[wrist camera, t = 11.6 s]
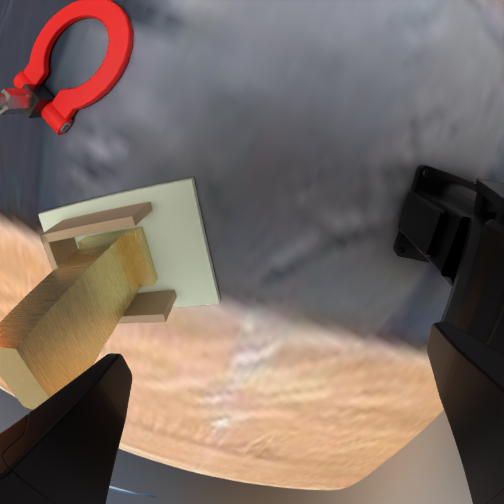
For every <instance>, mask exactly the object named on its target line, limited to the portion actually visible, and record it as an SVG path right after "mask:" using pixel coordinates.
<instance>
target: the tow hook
mask: <svg viewBox="0 0 504 504" xmlns="http://www.w3.org/2000/svg"><path fill="white" fill-rule="evenodd" d="M84 18H95V19H99V20H100V21H102V22H103V24H104V25H105V27H106V28H107V31H108V36H109V46H108V50H107V54H106V57H105V59H104V61H103V63H102V65H101V67H100V68H99V69H98V71H97V72H96V73H95V75H94V76H93V77H92V78H90V79H89V80H88V81H87V82H86V83H84V84H82V85H80V86H79V87H76V88H72V89H62V90H60V91H59V93H58V94H57V95H56V97H55V98H54V97H53V96H52V95H51V94H50V93H49V92H48V91H47V90H46V89H45V88H44V87H43V86H42V85H41V84H42V83H43V81H44V80H45V78H46V77H47V75H48V73H49V68H48V63H49V55H50V52H51V48H52V46H53V44H54V42H55V40H56V39H57V38H58V36H59V35H60V34H61V32H62V31H63V30H65V29H66V28H67V27H68V26H69V25H71V24H72V23H74V22H76V21H78V20H81V19H84ZM132 48H133V29H132V26H131V22H130V19H129V17H128V16H127V14H126V13H125V11H124V10H123V9H122V8H121V7H119V6H118V5H116V4H115V3H114V2H112V1H111V0H79V1H76V2H73V3H71V4H70V5H68V6H66V7H65V8H63V9H62V10H60V11H59V12H58V13H57V14H56V15H54V16H53V17H52V18H51V19H50V20H49V21H48V23H47V24H46V25H45V27H44V28H43V29H42V31H41V32H40V34H39V36H38V38H37V40H36V42H35V44H34V46H33V50H32V53H31V57H30V63H29V64H28V65H27V67H26V69H25V70H24V71H21V72H20V73H19V74H18V75H17V76H16V77H15V79H14V82H13V83H14V85H15V86H16V87H17V88H18V89H3V90H2V91H0V115H4V114H14V113H23V114H24V115H25V117H26V118H36V117H43V118H44V119H45V121H46V122H47V123H48V124H49V125H50V126H51V127H52V128H53V129H54V131H55V132H56V133H57V134H58V135H61V134H63V133H65V132H66V131H67V130H68V129H69V128H70V126H71V125H72V122H73V121H72V119H71V118H72V117H73V115H74V114H75V112H76V111H77V110H78V109H81V108H85V107H87V106H89V105H91V104H92V103H94V102H96V101H98V100H99V99H100V98H102V97H103V96H104V95H105V94H106V93H108V92H109V91H110V90H111V89H112V87H113V86H114V85H115V83H116V82H117V81H118V80H119V79H120V77H121V75H122V73H123V71H124V70H125V68H126V66H127V64H128V62H129V58H130V55H131V51H132Z"/></svg>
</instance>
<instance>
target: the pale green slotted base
mask: <svg viewBox="0 0 504 504" xmlns="http://www.w3.org/2000/svg"><path fill="white" fill-rule="evenodd" d="M39 218H40V221H41V224H42V227H43V230H44V233H42V234H41V235H40V238H41V240H42V243H43V246H44V249H45V252H46V254H47V257H48V260H49V262H50V265H51V267H52V270H55V269H56V268H57V267H58V266H59V265H60V264H61V263H62V262H63V261H65V260H66V259H67V258H68V257H69V256H70V255H71V254H73V253H74V252H75V251H76V250H77V249H78V248H79V245H78V242H79V241H80V240H81V239H82V238H84V237H86V236H91V235H96V234H102V233H107V232H112V231H118V230H123V229H129V228H134V227H140V226H142V227H143V230H144V234H145V237H146V241H147V244H148V248H149V251H150V254H151V257H152V261H153V264H154V267H155V270H156V273H157V276H158V280H157V281H156V283H155V285H154V286H145V287H141V288H140V289H139V291H138V293H137V294H136V296H135V297H134V299H133V300H132V302H131V303H130V305H129V306H128V308H127V310H126V311H125V313H124V314H123V316H122V318H121V319H120V321H119V322H118V323H148V322H166V320H167V318H168V315H169V313H170V311H171V309H172V308H173V307H188V306H201V305H213V304H220V300H221V299H220V295H219V291H218V286H217V282H216V278H215V274H214V269H213V265H212V261H211V256H210V252H209V247H208V243H207V238H206V234H205V229H204V224H203V220H202V215H201V210H200V206H199V201H198V196H197V191H196V186H195V181H194V178H188V179H183V180H177V181H172V182H167V183H161V184H156V185H151V186H147V187H142V188H137V189H132V190H128V191H123V192H119V193H115V194H110V195H106V196H102V197H98V198H93V199H89V200H85V201H81V202H77V203H74V204H70V205H66V206H62V207H59V208H55V209H51V210H48V211H44V212H42V213H40V214H39Z"/></svg>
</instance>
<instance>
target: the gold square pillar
mask: <svg viewBox="0 0 504 504" xmlns="http://www.w3.org/2000/svg"><path fill="white" fill-rule="evenodd" d="M78 245H79V248H78V249H77V250H76V251H75V252H74V253H73V254H71V255H70V256H69V257H68V258H67V259H66V260H65V261H63V262H62V263H61V264H60V265H59V266H58V267H57V268H56V269H55V270H53V271H52V272H51V273H50V274H49V275H48V276H47V277H46V278H45V279H44V280H43V281H41V282H40V283H39V284H38V285H37V286H36V287H35V288H34V289H33V290H32V291H31V292H30V293H29V294H28V295H27V296H26V297H25V298H24V299H23V300H22V301H21V302H20V303H19V304H18V305H17V306H16V307H15V308H14V309H13V310H12V311H11V312H10V313H9V314H8V315H7V316H6V317H5V318H4V319H3V320H2V321H1V322H0V376H1V377H2V378H3V380H4V381H5V383H6V384H7V385H8V387H9V388H10V389H11V391H12V392H13V393H14V395H15V396H16V397H17V399H18V400H19V401H20V402H21V404H22V405H23V406H24V407H27V408H30V409H35V408H36V407H38V406H39V405H40V404H42V403H43V402H44V401H46V400H47V399H48V398H50V397H51V396H52V395H54V394H55V393H56V392H58V391H59V390H60V389H62V388H63V387H64V386H66V385H67V384H68V383H70V382H71V381H72V380H74V379H75V378H76V377H78V376H79V375H80V374H82V373H83V372H84V371H86V370H87V369H88V368H90V367H91V366H92V365H93V364H94V362H95V360H96V359H97V357H98V355H99V354H100V352H101V350H102V349H103V347H104V345H105V344H106V342H107V340H108V339H109V337H110V335H111V334H112V332H113V330H114V329H115V327H116V326H117V324H118V322H119V321H120V319H121V318H122V316H123V314H124V313H125V311H126V310H127V308H128V306H129V305H130V303H131V302H132V300H133V299H134V297H135V296H136V294H137V293H138V291H139V289H140V288H141V287H145V286H154V285H155V283H156V281H157V280H158V276H157V273H156V270H155V267H154V264H153V261H152V257H151V254H150V251H149V248H148V244H147V241H146V237H145V234H144V230H143V227H142V226H140V227H134V228H129V229H123V230H118V231H112V232H107V233H102V234H96V235H91V236H86V237H84V238H82V239H81V240H80V241H79V242H78Z"/></svg>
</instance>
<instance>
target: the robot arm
mask: <svg viewBox="0 0 504 504" xmlns="http://www.w3.org/2000/svg"><path fill="white" fill-rule="evenodd" d="M425 169H426V175H424V176H423V171H424V170H425ZM399 229H400V230H399V233H398V236H397V239H396V242H395V245H394V251H395V253H396V254H397V255H398V256H400V257H405V258H410V259H415V260H420V261H425V262H430V263H431V264H432V265H433V266H434V267H435V268H436V269H437V270H438V271H439V273H440V274H441V275H442V276H443V277H444V278H445V279H446V280H447V281H448V283H449V284H450V285H451V286H452V290H451V293H450V296H449V299H448V302H447V305H446V308H445V311H444V314H443V316H442V319H441V322H438V323H434V324H433V325H432V327H431V331H430V335H429V340H428V344H427V353H428V356H429V360H430V363H431V367H432V370H433V374H434V377H435V381H436V385H437V389H438V392H439V396H440V399H441V402H442V404H443V407H444V410H445V413H446V415H447V418H448V421H449V424H450V427H451V430H452V432H453V436H454V439H455V442H456V445H457V448H458V451H459V454H460V458H461V461H462V464H463V468H464V471H465V475H466V478H467V482H468V486H469V490H470V494H471V497H472V502H473V504H504V184H503V183H498V182H493V181H487V180H482V179H477V182H476V184H475V183H472V182H470V181H467V180H465V179H462V178H460V177H457V176H454V175H452V174H449V173H446V172H444V171H441V170H438V169H435V168H433V167H430V166H427V165H420V166H419V167H418V169H417V172H416V176H415V180H414V184H413V187H412V191H411V192H410V193H409V194H408V197H407V201H406V204H405V208H404V211H403V214H402V217H401V221H400V224H399ZM400 247H403V249H402V250H401V251H399V249H400ZM131 384H132V373H131V371H130V369H129V367H128V365H127V363H126V361H125V359H124V357H123V356H122V355H121V354H114V353H110V354H107V355H106V356H105V357H103V358H102V359H101V360H99V361H98V362H97V363H95V364H94V365H93V366H91V367H90V368H88V369H87V370H86V371H84V372H83V373H82V374H80V375H79V376H78V377H76V378H75V379H74V380H72V381H71V382H70V383H68V384H67V385H66V386H64V387H63V388H62V389H60V390H59V391H58V392H56V393H55V394H54V395H52V396H51V397H50V398H48V399H47V400H46V401H44V402H43V403H42V404H40V405H39V406H38V407H36V408H35V409H34V410H33V411H31V412H30V413H29V415H28V414H27V415H26V416H24V417H23V418H22V419H20V420H19V421H18V422H16V423H15V424H13V425H12V426H11V427H9V428H8V429H6V430H5V431H3V432H2V433H0V504H106V499H107V494H108V490H109V485H110V481H111V476H112V472H113V468H114V464H115V460H116V455H117V451H118V447H119V444H120V440H121V436H122V432H123V428H124V424H125V420H126V414H127V408H128V402H129V396H130V390H131Z"/></svg>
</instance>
